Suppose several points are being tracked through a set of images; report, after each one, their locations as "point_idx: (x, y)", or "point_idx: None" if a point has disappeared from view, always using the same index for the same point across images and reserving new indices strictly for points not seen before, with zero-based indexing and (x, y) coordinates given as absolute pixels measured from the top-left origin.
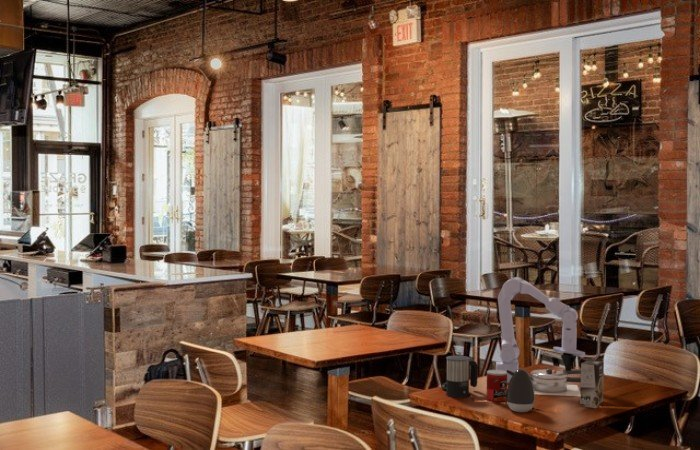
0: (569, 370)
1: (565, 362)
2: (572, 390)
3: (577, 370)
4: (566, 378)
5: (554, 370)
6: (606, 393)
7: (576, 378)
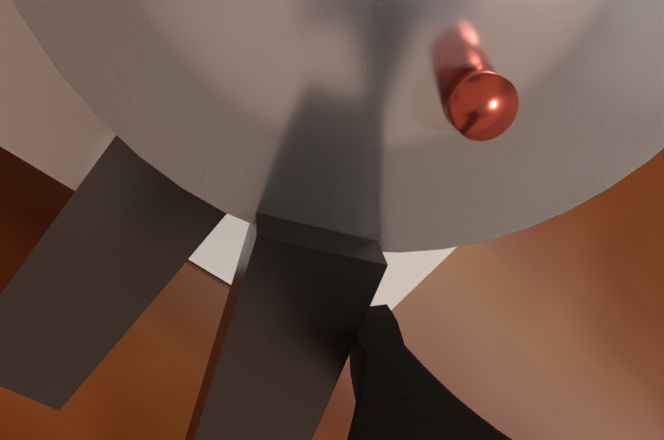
0: (263, 316)
1: (420, 424)
2: None
3: (197, 428)
4: None
5: (487, 97)
6: (15, 411)
7: (74, 249)
